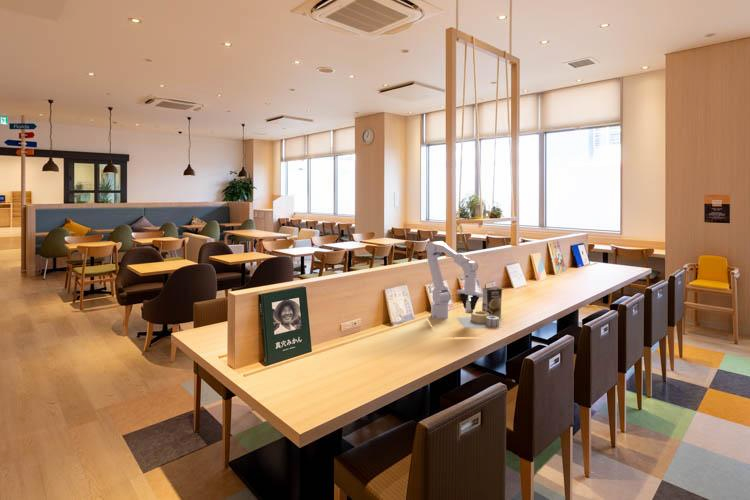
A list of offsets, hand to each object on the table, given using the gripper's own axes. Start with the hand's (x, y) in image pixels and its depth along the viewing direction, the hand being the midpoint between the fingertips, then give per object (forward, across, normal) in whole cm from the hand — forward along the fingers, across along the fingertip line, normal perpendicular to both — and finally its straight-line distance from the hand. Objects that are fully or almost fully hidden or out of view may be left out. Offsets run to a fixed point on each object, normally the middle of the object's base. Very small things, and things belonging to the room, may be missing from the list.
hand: (469, 308), depth 242 cm
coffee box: (+10, -1, +26) cm, 28 cm away
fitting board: (+10, +2, +6) cm, 12 cm away
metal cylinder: (+2, 0, 0) cm, 2 cm away
